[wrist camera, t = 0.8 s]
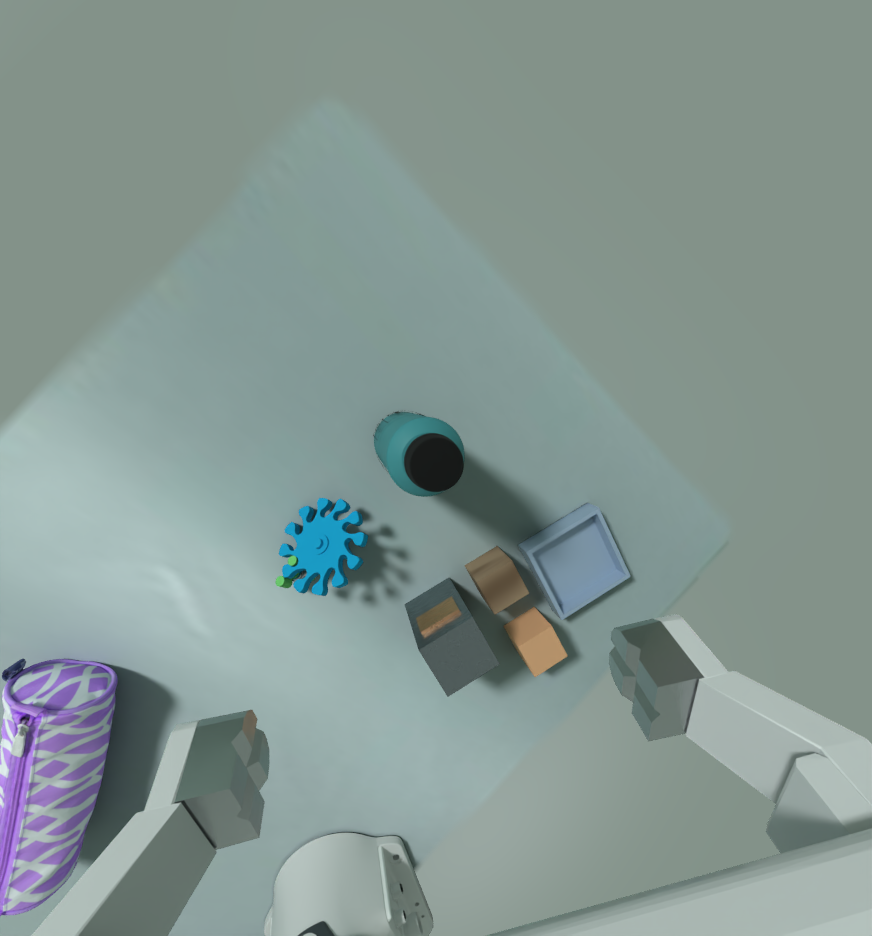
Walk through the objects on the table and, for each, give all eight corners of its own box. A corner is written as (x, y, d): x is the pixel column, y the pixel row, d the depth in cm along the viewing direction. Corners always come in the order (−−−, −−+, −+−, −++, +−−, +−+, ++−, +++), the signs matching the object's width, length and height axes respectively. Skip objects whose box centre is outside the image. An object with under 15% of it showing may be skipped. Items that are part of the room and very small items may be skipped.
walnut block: (513, 576, 57) (529, 593, 52) (481, 595, 57) (494, 614, 52) (496, 545, 56) (511, 560, 51) (464, 565, 56) (476, 582, 51)
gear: (335, 476, 49) (377, 553, 44) (364, 494, 54) (404, 564, 49) (255, 540, 50) (287, 622, 45) (290, 551, 55) (322, 626, 50)
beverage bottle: (385, 478, 52) (412, 529, 33) (361, 422, 51) (375, 441, 31) (439, 454, 53) (497, 491, 33) (417, 399, 51) (464, 403, 32)
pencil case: (35, 641, 48) (-37, 700, 39) (136, 651, 50) (90, 710, 41) (6, 835, 50) (-68, 934, 41) (104, 836, 52) (54, 931, 43)
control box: (473, 619, 57) (501, 666, 47) (430, 646, 56) (449, 699, 47) (447, 574, 55) (470, 613, 46) (403, 601, 55) (416, 646, 45)
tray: (618, 568, 60) (630, 576, 57) (552, 610, 59) (561, 620, 56) (587, 502, 57) (598, 507, 55) (517, 544, 56) (526, 552, 54)
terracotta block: (549, 634, 59) (567, 656, 55) (518, 653, 59) (534, 677, 54) (534, 606, 58) (551, 625, 53) (503, 625, 58) (518, 647, 53)
